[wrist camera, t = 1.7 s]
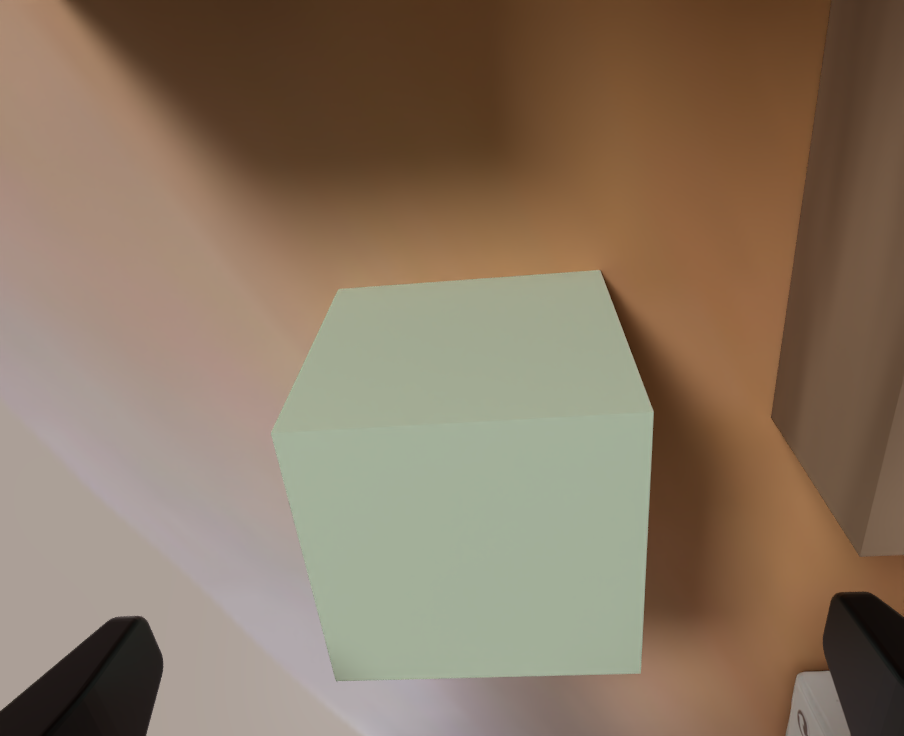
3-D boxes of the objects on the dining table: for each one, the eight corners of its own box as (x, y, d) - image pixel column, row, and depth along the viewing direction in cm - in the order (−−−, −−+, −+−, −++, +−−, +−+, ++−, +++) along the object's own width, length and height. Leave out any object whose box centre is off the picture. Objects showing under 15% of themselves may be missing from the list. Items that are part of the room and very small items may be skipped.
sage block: (599, 268, 13) (653, 412, 9) (598, 480, 16) (640, 673, 11) (339, 287, 14) (270, 433, 9) (376, 490, 16) (335, 680, 12)
